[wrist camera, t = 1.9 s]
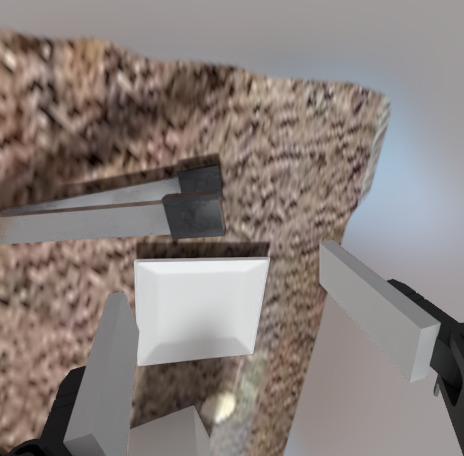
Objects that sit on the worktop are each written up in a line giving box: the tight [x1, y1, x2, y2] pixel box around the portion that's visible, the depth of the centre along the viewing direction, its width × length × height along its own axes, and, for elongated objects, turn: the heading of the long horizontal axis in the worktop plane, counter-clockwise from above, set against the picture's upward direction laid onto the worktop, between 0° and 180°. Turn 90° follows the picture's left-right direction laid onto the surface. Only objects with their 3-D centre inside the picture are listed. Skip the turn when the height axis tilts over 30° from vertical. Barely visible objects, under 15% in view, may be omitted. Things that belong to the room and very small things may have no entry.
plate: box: [134, 257, 270, 366], centre depth 41 cm, size 19×19×2 cm
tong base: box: [0, 164, 223, 214], centre depth 31 cm, size 37×4×2 cm, turn 98°
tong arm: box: [0, 189, 226, 244], centre depth 27 cm, size 26×4×1 cm, turn 98°
